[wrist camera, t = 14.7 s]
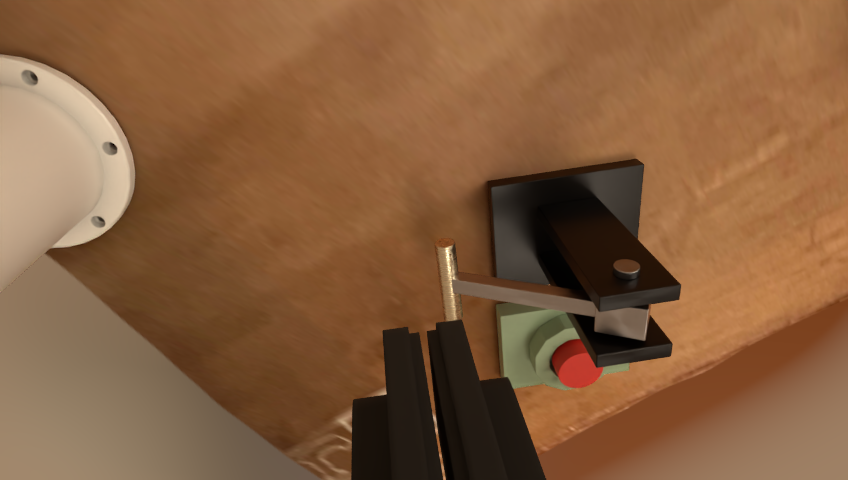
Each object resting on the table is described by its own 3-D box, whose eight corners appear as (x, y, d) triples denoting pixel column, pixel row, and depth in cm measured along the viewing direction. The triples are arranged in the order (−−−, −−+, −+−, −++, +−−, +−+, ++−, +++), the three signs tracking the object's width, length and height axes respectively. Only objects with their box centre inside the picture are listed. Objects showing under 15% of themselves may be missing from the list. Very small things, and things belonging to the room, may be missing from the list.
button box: (500, 376, 47) (509, 405, 44) (495, 304, 43) (505, 330, 40) (620, 357, 47) (638, 385, 44) (626, 284, 43) (646, 308, 40)
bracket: (494, 284, 42) (539, 402, 31) (487, 180, 37) (537, 275, 26) (628, 263, 42) (722, 374, 31) (636, 158, 38) (749, 242, 26)
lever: (451, 305, 37) (437, 325, 36) (442, 232, 35) (427, 250, 33) (647, 341, 32) (642, 367, 30) (656, 257, 29) (652, 280, 27)
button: (551, 376, 43) (558, 391, 41) (551, 342, 41) (558, 357, 40) (594, 369, 43) (602, 384, 41) (596, 335, 41) (604, 349, 40)
